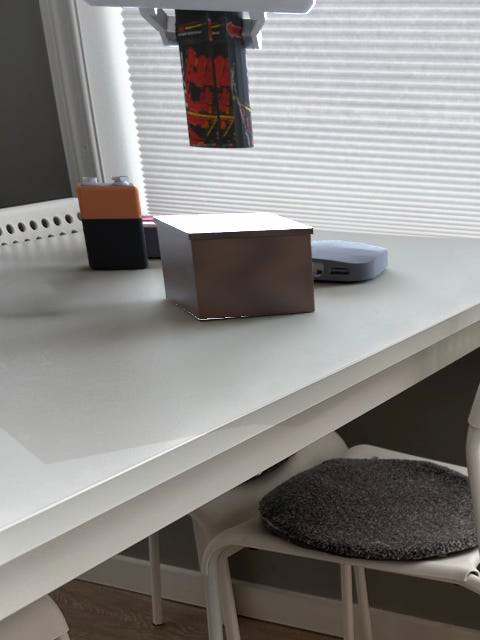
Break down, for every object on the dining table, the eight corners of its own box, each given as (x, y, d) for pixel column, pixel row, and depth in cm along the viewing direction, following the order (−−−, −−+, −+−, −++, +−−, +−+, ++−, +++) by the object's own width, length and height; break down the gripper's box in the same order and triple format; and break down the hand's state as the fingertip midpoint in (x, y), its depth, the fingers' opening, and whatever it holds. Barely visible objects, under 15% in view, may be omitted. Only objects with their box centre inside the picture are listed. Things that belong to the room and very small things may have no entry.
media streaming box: (393, 265, 123) (392, 240, 122) (371, 285, 111) (370, 258, 109) (283, 259, 124) (281, 235, 123) (249, 279, 112) (246, 252, 110)
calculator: (213, 213, 134) (214, 220, 122) (216, 245, 136) (218, 256, 124) (131, 212, 132) (124, 220, 119) (136, 246, 134) (129, 257, 121)
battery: (149, 268, 115) (136, 178, 110) (90, 270, 113) (74, 178, 108) (146, 263, 119) (134, 174, 114) (89, 264, 117) (73, 174, 112)
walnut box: (198, 321, 92) (188, 232, 88) (163, 298, 101) (152, 216, 97) (317, 311, 97) (313, 227, 93) (274, 290, 107) (268, 212, 102)
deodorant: (178, 144, 90) (156, -49, 83) (235, 144, 94) (218, -42, 86) (207, 148, 87) (186, -54, 79) (265, 147, 90) (250, -46, 82)
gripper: (309, -137, 74) (328, 19, 88) (44, -149, 73) (104, 10, 87) (306, -75, 73) (326, 74, 86) (34, -86, 72) (97, 66, 85)
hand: (212, 42), depth 86 cm, fingers closed on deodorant, 6 cm apart
